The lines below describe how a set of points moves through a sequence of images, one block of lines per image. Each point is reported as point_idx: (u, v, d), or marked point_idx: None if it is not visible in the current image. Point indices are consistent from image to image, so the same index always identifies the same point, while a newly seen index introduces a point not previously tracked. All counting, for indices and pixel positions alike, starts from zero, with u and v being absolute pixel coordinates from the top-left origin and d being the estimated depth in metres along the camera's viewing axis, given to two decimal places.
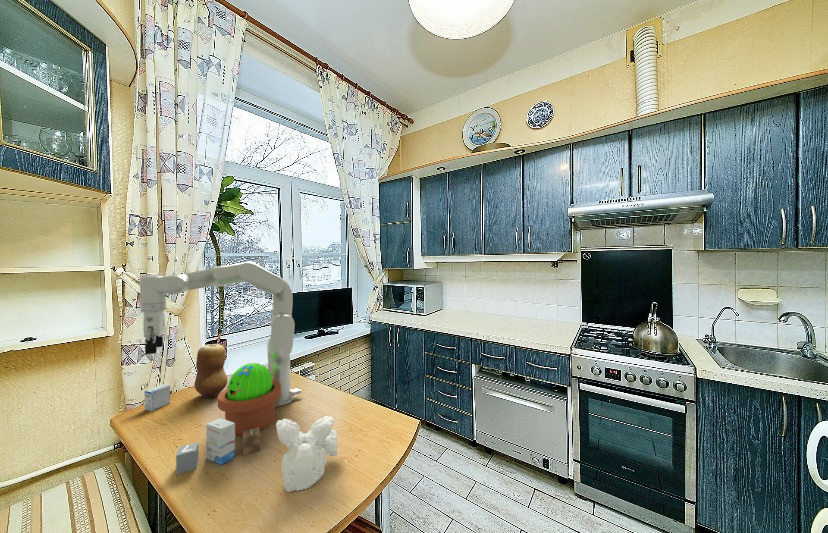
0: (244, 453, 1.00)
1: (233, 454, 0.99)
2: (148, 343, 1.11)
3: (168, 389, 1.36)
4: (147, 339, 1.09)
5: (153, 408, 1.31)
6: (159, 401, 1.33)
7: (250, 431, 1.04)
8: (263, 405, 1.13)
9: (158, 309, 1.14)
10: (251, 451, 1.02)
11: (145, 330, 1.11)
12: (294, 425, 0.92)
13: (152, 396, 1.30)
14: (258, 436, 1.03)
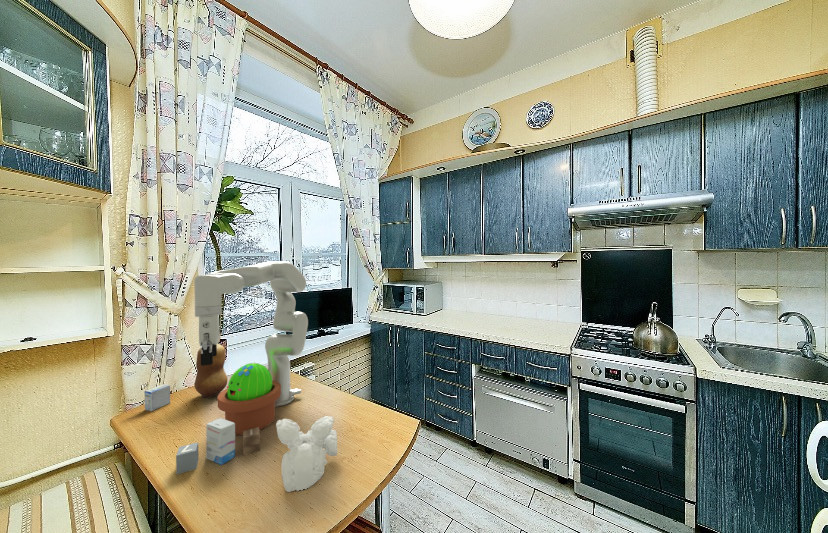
0: (244, 453, 1.00)
1: (233, 454, 0.99)
2: (204, 353, 0.95)
3: (168, 389, 1.36)
4: (204, 348, 0.94)
5: (153, 408, 1.31)
6: (159, 401, 1.33)
7: (250, 431, 1.04)
8: (263, 405, 1.13)
9: (214, 313, 0.99)
10: (251, 451, 1.02)
11: (201, 337, 0.96)
12: (294, 425, 0.92)
13: (152, 396, 1.30)
14: (258, 436, 1.03)
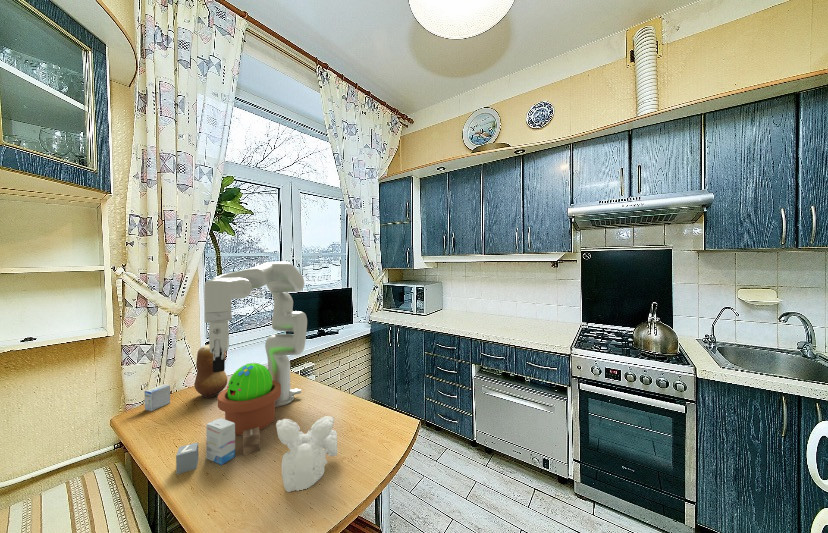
0: (244, 453, 1.00)
1: (233, 454, 0.99)
2: (217, 360, 0.97)
3: (168, 389, 1.37)
4: None
5: (153, 408, 1.31)
6: (159, 401, 1.33)
7: (250, 431, 1.04)
8: (263, 405, 1.13)
9: (225, 319, 0.97)
10: (251, 451, 1.02)
11: (212, 344, 0.93)
12: (294, 425, 0.92)
13: (152, 396, 1.30)
14: (258, 436, 1.03)
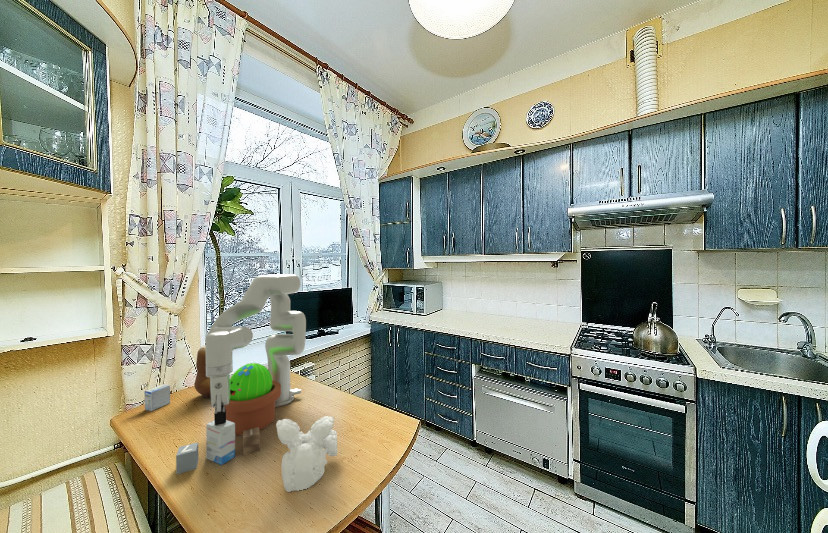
0: (244, 453, 1.00)
1: (233, 454, 0.99)
2: (218, 413, 0.97)
3: (168, 389, 1.36)
4: None
5: (153, 408, 1.31)
6: (159, 401, 1.33)
7: (250, 431, 1.04)
8: (263, 405, 1.13)
9: (226, 372, 0.97)
10: (251, 451, 1.02)
11: (213, 399, 0.94)
12: (294, 425, 0.92)
13: (152, 396, 1.30)
14: (258, 436, 1.03)
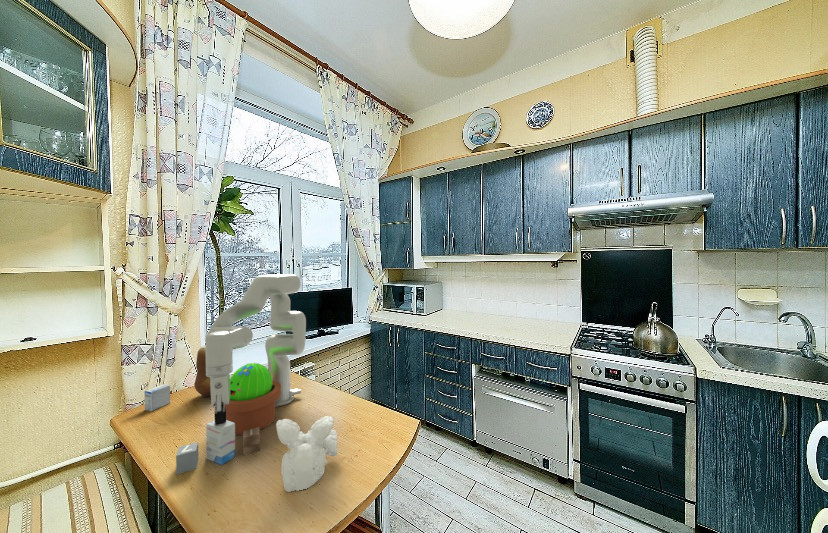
0: (244, 453, 1.00)
1: (233, 454, 0.99)
2: (218, 412, 0.97)
3: (168, 389, 1.37)
4: None
5: (153, 408, 1.31)
6: (159, 401, 1.33)
7: (250, 431, 1.04)
8: (263, 405, 1.13)
9: (226, 372, 0.97)
10: (251, 451, 1.02)
11: (213, 399, 0.94)
12: (294, 425, 0.92)
13: (152, 396, 1.30)
14: (258, 436, 1.03)
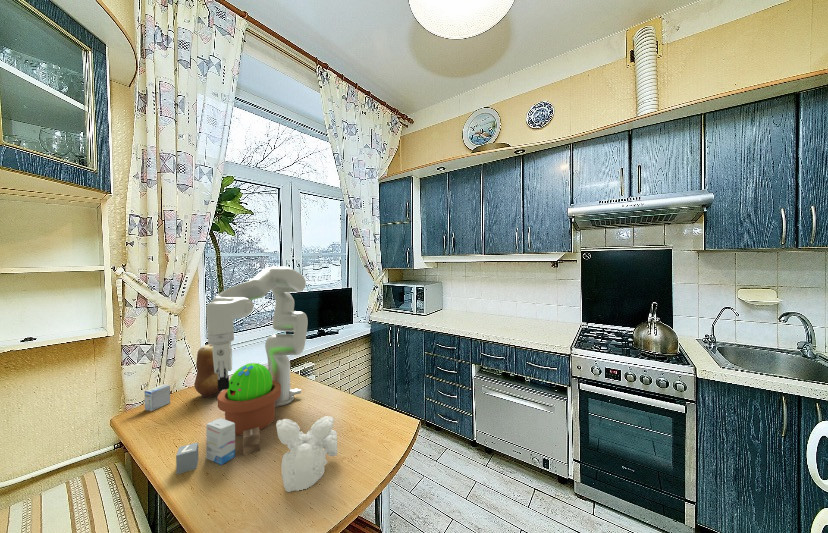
0: (244, 453, 1.00)
1: (233, 454, 0.99)
2: (221, 379, 1.00)
3: (168, 389, 1.36)
4: None
5: (153, 408, 1.31)
6: (159, 401, 1.33)
7: (250, 431, 1.04)
8: (263, 405, 1.13)
9: (228, 340, 1.00)
10: (251, 451, 1.02)
11: (216, 365, 0.97)
12: (294, 425, 0.92)
13: (152, 396, 1.30)
14: (258, 436, 1.03)
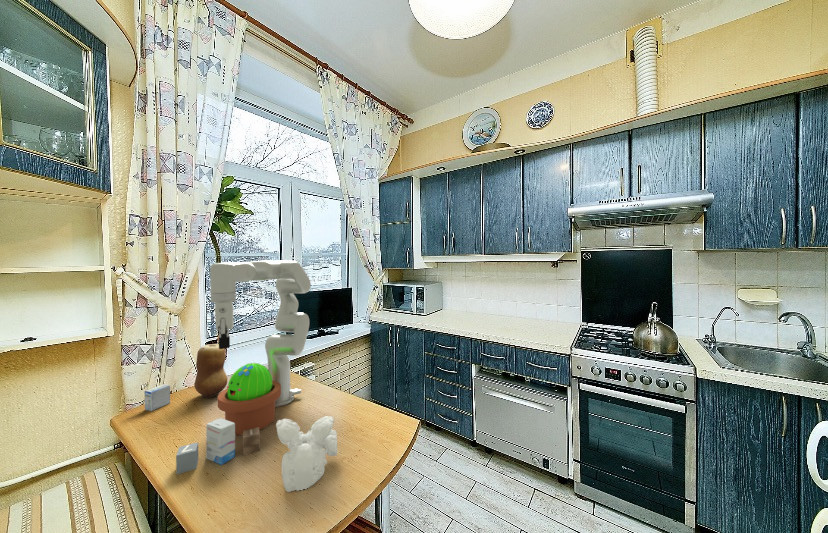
0: (244, 453, 1.00)
1: (233, 454, 0.99)
2: (222, 337, 1.04)
3: (168, 389, 1.37)
4: None
5: (153, 408, 1.31)
6: (159, 401, 1.33)
7: (250, 431, 1.04)
8: (263, 405, 1.13)
9: (230, 299, 1.04)
10: (251, 451, 1.02)
11: (218, 322, 1.01)
12: (294, 425, 0.92)
13: (152, 396, 1.30)
14: (258, 436, 1.03)
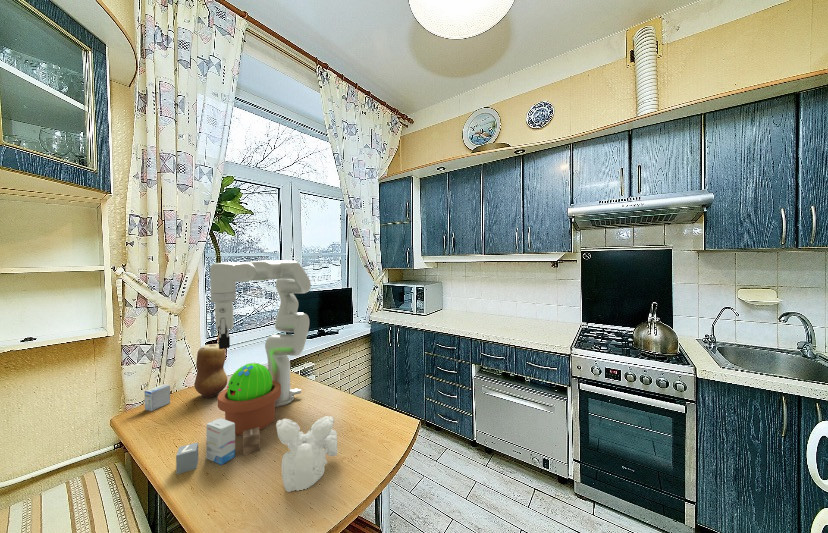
0: (244, 453, 1.00)
1: (233, 454, 0.99)
2: (222, 337, 1.04)
3: (168, 389, 1.36)
4: None
5: (153, 408, 1.31)
6: (159, 401, 1.33)
7: (250, 431, 1.04)
8: (263, 405, 1.13)
9: (230, 299, 1.04)
10: (251, 451, 1.02)
11: (218, 322, 1.01)
12: (294, 425, 0.92)
13: (152, 396, 1.30)
14: (258, 436, 1.03)
